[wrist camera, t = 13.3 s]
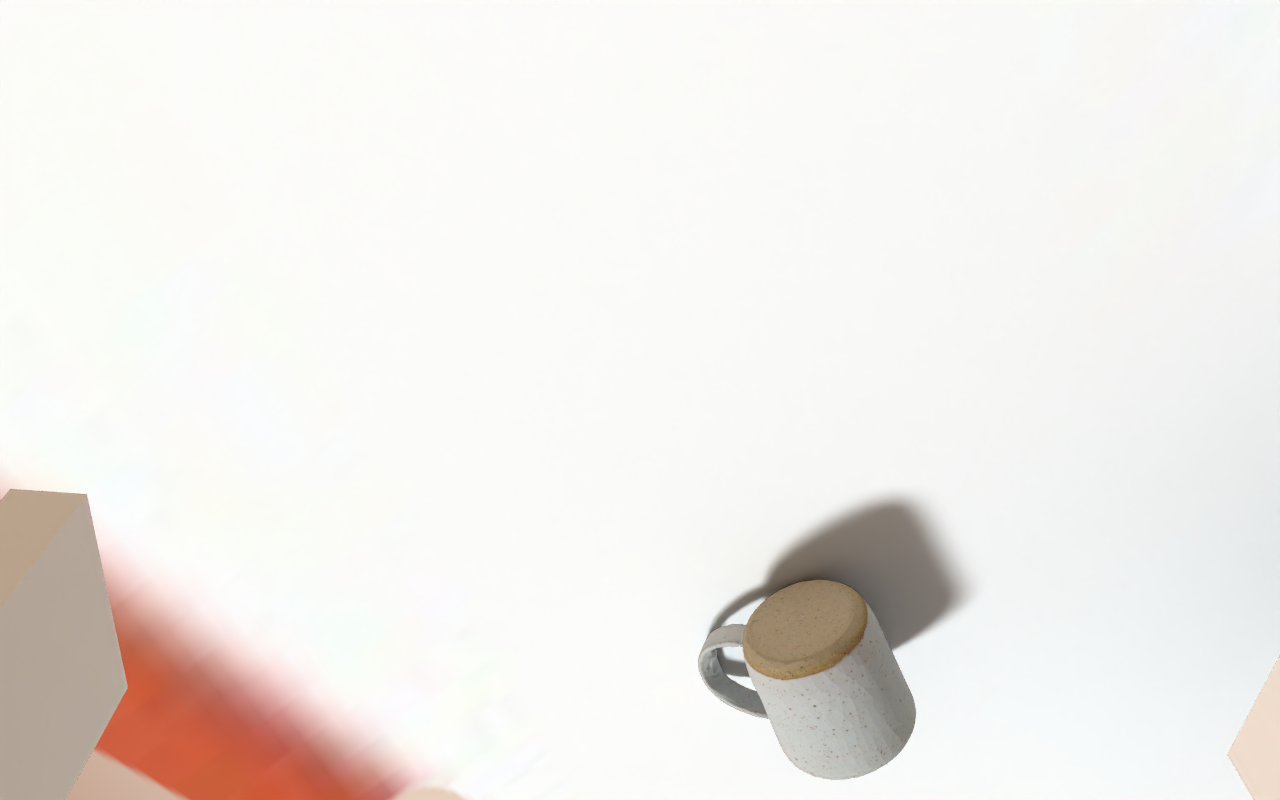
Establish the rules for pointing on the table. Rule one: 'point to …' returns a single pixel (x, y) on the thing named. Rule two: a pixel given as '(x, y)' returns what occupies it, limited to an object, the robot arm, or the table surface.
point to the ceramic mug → (818, 679)
